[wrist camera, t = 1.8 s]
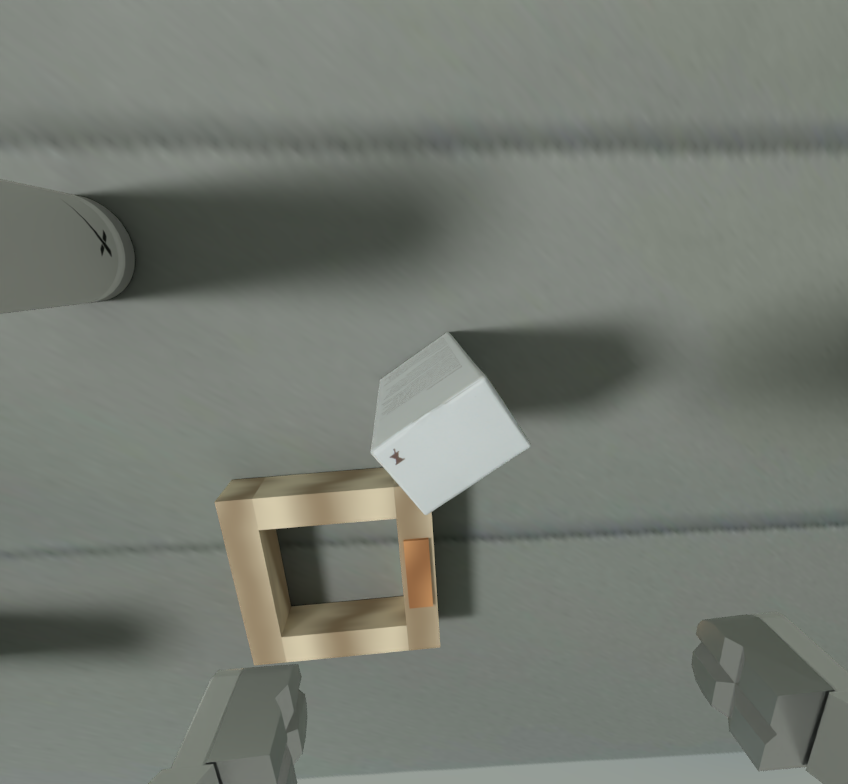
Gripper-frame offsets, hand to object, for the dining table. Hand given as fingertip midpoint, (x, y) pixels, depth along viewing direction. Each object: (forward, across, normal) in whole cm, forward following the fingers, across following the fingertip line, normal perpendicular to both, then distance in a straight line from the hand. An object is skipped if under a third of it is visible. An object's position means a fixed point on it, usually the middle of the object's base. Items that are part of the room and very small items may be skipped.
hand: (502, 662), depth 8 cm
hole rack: (+22, +8, +14) cm, 27 cm away
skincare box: (+22, 0, 0) cm, 22 cm away
